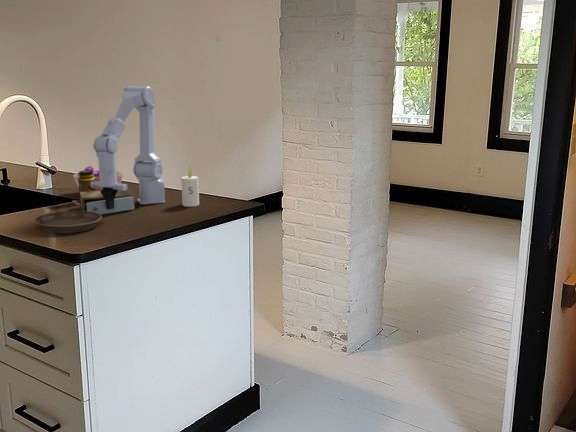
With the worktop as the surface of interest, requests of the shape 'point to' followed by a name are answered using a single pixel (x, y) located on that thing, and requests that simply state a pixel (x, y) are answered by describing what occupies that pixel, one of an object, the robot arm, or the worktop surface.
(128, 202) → the door
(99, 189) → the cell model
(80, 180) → the condiment
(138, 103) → the robot arm
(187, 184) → the candle
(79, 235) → the worktop surface
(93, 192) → the cabinet
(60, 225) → the plant saucer
